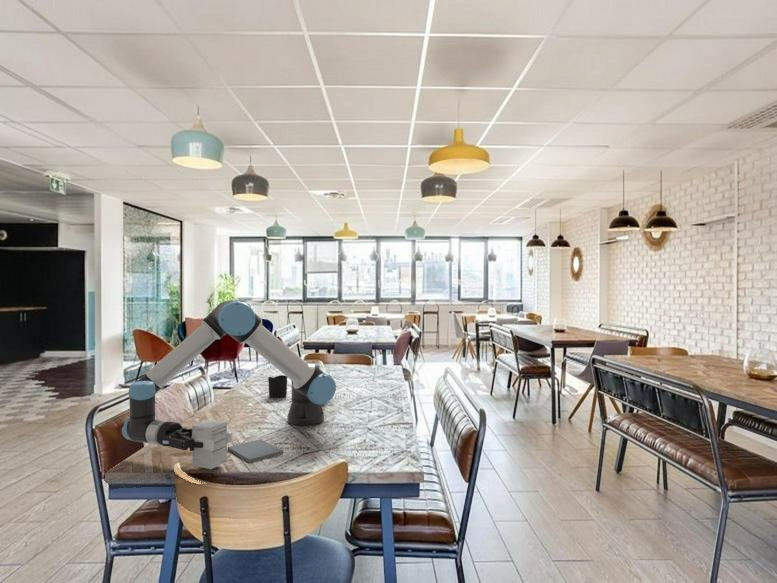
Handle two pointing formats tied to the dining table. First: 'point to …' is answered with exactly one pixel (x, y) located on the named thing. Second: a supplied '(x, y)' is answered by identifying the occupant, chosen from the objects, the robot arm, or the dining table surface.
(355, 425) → the dining table surface
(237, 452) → the slate mat
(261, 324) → the robot arm
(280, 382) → the pen holder
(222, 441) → the supplement box
